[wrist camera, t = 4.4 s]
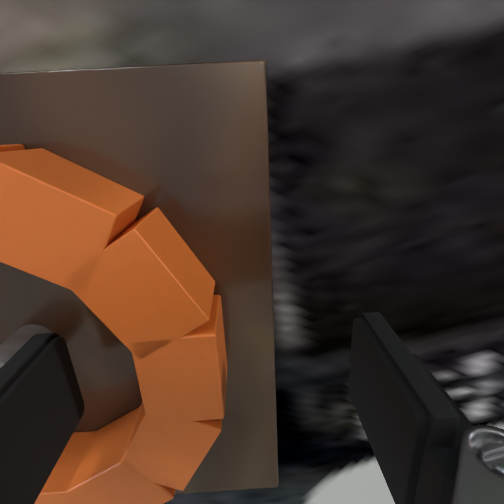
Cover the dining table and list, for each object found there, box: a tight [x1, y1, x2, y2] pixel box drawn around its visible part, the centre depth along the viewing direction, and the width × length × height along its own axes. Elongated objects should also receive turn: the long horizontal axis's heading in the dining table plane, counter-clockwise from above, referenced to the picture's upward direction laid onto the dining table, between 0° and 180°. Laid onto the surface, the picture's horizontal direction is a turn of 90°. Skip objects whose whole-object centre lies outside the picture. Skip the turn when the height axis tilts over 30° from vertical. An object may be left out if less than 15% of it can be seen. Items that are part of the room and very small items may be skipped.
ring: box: [0, 144, 227, 504], centre depth 10 cm, size 13×13×2 cm
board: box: [0, 60, 279, 494], centre depth 11 cm, size 17×17×3 cm
